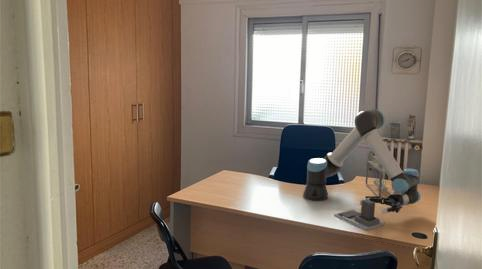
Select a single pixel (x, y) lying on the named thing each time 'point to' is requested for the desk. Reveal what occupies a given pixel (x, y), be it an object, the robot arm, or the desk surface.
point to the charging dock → (358, 220)
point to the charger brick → (367, 210)
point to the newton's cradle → (376, 181)
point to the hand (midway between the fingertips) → (370, 206)
